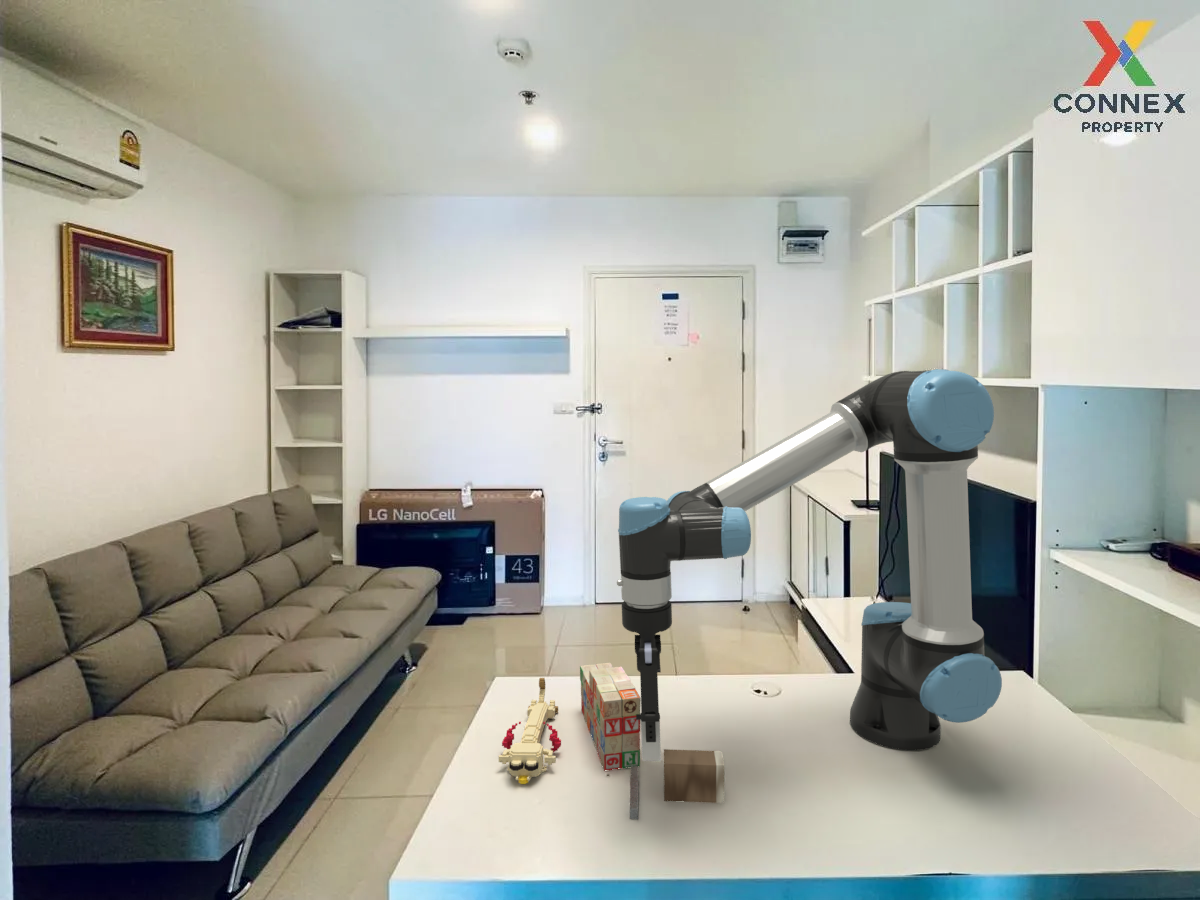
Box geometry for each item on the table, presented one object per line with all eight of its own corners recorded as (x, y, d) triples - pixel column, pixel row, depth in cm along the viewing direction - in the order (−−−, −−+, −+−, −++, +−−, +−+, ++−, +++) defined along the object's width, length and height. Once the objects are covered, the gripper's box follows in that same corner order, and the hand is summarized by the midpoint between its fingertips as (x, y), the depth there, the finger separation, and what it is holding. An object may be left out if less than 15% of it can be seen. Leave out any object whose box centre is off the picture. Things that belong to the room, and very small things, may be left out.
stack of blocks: (580, 711, 132) (579, 649, 131) (611, 707, 133) (611, 646, 132) (604, 772, 111) (603, 700, 110) (641, 767, 112) (640, 696, 111)
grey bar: (638, 775, 110) (638, 766, 110) (638, 819, 99) (637, 808, 99) (630, 775, 110) (630, 765, 110) (629, 818, 99) (629, 808, 99)
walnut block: (663, 785, 107) (721, 787, 106) (664, 801, 103) (724, 803, 102) (663, 749, 106) (721, 751, 106) (664, 763, 102) (724, 765, 102)
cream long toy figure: (518, 719, 132) (491, 785, 107) (517, 674, 131) (490, 730, 106) (569, 720, 131) (554, 786, 106) (568, 675, 131) (553, 731, 106)
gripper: (623, 577, 115) (627, 697, 117) (618, 631, 90) (624, 782, 92) (667, 576, 114) (671, 696, 117) (675, 631, 90) (680, 782, 92)
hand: (650, 735), depth 104 cm, fingers open, 13 cm apart
